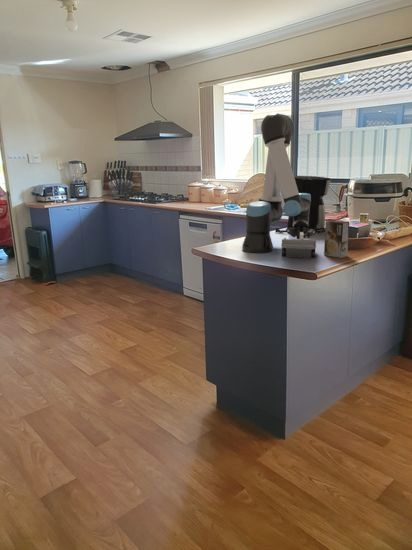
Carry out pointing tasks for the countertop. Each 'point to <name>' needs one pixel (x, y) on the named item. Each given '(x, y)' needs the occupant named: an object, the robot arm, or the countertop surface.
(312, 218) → the coffee maker
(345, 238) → the coffee box
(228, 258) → the countertop surface
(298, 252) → the bed
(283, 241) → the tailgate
